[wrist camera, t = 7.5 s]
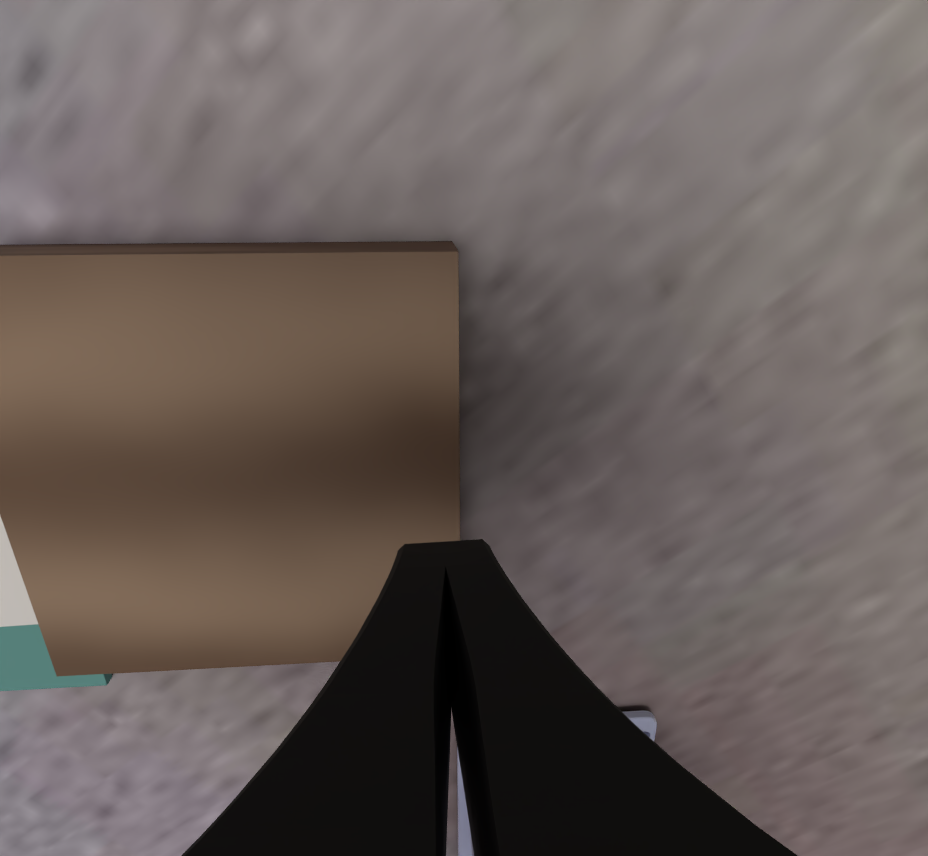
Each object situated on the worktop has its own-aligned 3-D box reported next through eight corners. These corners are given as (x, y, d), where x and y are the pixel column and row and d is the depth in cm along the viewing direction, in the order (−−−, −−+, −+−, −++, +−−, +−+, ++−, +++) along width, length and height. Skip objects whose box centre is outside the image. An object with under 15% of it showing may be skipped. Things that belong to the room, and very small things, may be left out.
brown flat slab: (455, 593, 21) (460, 654, 18) (107, 609, 20) (56, 676, 17) (451, 241, 16) (458, 251, 13) (1, 244, 15) (-91, 256, 13)
